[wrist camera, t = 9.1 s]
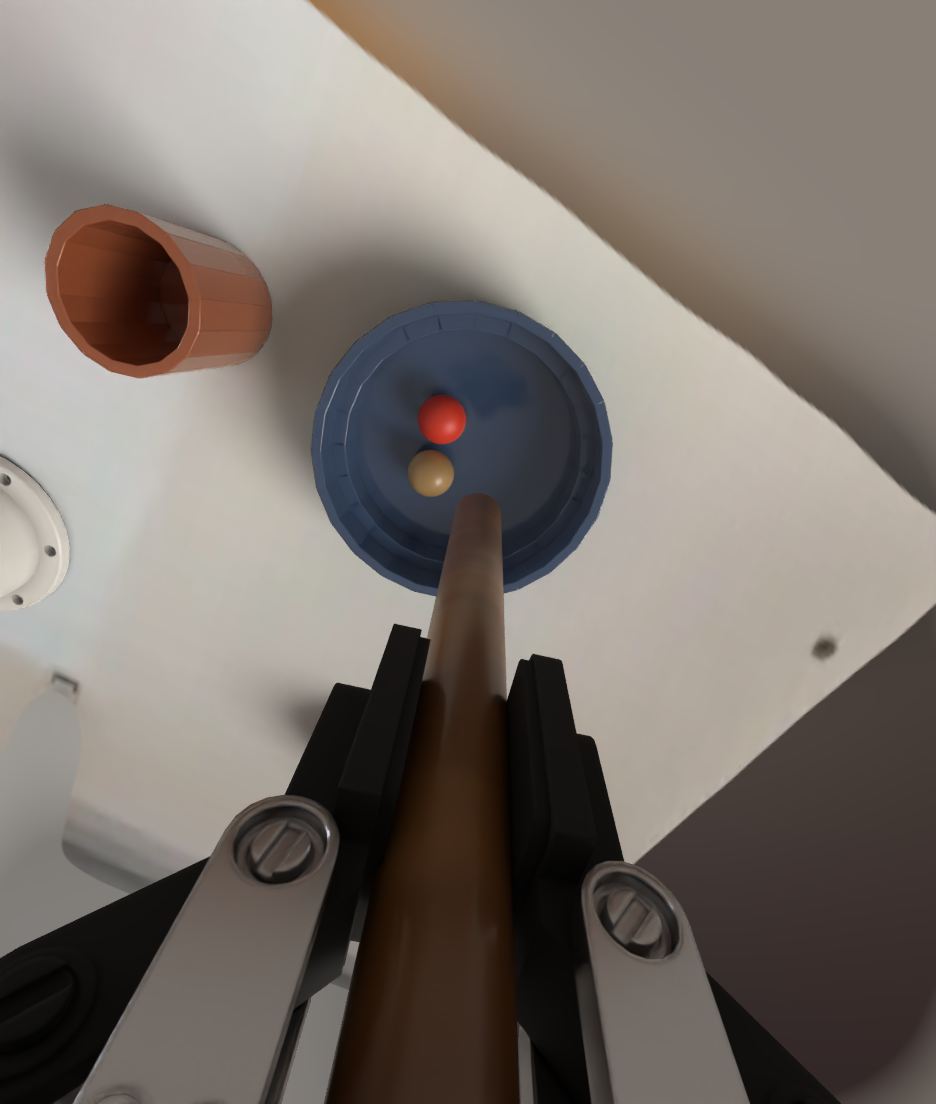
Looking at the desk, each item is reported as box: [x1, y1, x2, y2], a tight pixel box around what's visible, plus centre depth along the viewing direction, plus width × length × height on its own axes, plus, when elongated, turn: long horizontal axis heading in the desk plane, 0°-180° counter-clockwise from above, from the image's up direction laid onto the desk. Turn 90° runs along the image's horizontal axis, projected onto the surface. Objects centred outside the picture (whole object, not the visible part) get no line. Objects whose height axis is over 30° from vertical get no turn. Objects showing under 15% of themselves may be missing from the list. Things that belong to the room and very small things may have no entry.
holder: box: [44, 204, 272, 378], centre depth 29 cm, size 7×7×9 cm
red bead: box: [418, 394, 466, 444], centre depth 33 cm, size 3×3×3 cm
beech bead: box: [407, 450, 454, 497], centre depth 35 cm, size 3×3×3 cm
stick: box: [324, 493, 520, 1104], centre depth 13 cm, size 2×2×18 cm
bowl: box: [311, 300, 613, 596], centre depth 34 cm, size 17×17×6 cm
